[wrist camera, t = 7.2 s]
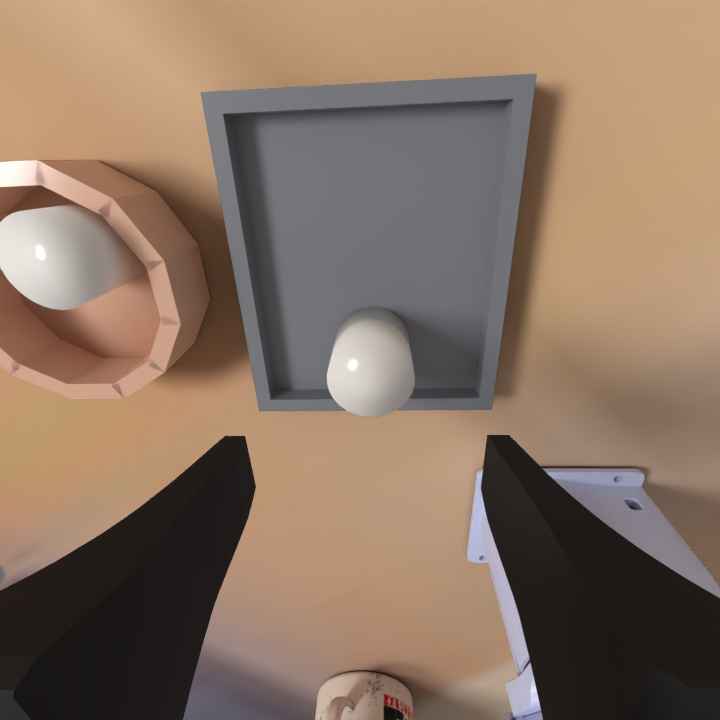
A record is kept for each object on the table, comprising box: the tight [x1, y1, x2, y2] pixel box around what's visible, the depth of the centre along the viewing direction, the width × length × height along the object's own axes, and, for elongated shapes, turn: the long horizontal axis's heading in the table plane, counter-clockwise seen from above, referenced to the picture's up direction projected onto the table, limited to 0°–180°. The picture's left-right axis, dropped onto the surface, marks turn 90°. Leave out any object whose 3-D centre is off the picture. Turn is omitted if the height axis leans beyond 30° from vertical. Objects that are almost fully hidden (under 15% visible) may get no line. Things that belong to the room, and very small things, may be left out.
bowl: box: [0, 160, 210, 399], centre depth 18 cm, size 10×10×3 cm
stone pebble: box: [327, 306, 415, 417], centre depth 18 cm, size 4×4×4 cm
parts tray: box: [201, 74, 537, 411], centre depth 18 cm, size 12×14×2 cm
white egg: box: [0, 203, 147, 310], centre depth 16 cm, size 4×4×4 cm
